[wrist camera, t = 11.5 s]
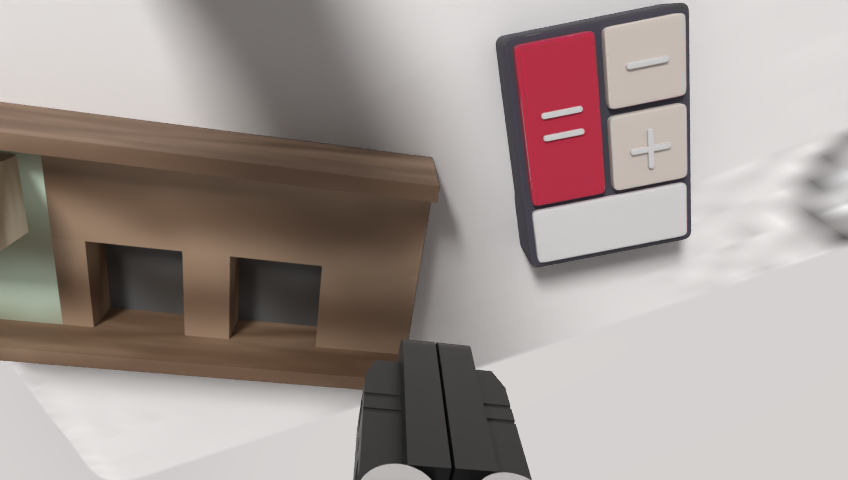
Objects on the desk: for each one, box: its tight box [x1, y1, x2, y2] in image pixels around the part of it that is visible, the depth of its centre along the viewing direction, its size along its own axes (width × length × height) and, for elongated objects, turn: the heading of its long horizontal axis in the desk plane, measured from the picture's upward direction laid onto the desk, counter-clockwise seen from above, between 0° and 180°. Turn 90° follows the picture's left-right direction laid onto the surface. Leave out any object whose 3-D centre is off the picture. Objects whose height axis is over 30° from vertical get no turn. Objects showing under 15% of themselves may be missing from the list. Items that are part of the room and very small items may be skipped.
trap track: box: [0, 102, 440, 390], centre depth 36 cm, size 15×31×6 cm, turn 82°
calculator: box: [496, 3, 691, 267], centre depth 37 cm, size 11×4×15 cm
